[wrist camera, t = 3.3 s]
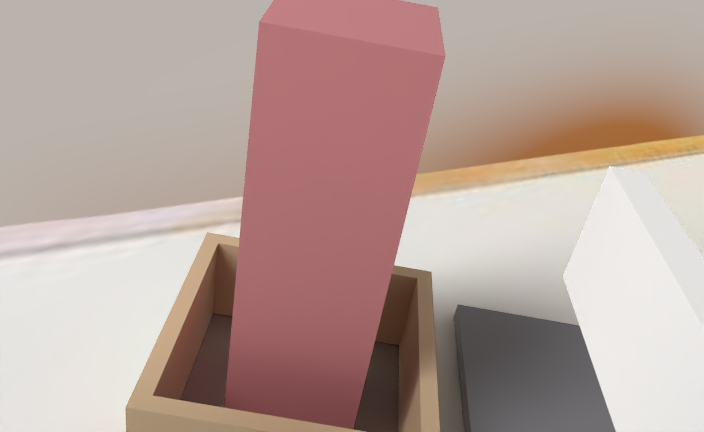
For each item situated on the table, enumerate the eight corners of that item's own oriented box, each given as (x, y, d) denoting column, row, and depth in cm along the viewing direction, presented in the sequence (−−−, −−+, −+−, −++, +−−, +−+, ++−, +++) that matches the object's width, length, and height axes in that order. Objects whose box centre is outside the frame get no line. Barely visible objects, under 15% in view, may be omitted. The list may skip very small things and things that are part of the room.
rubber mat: (608, 343, 42) (613, 331, 42) (686, 553, 31) (696, 540, 30) (454, 316, 42) (457, 304, 42) (472, 517, 30) (478, 503, 30)
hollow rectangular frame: (412, 338, 40) (431, 272, 37) (414, 534, 29) (441, 460, 26) (202, 302, 39) (207, 232, 37) (127, 486, 29) (125, 407, 26)
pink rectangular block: (354, 368, 37) (437, 7, 26) (345, 459, 32) (445, 56, 21) (246, 350, 37) (288, -21, 26) (221, 438, 32) (259, 21, 21)
